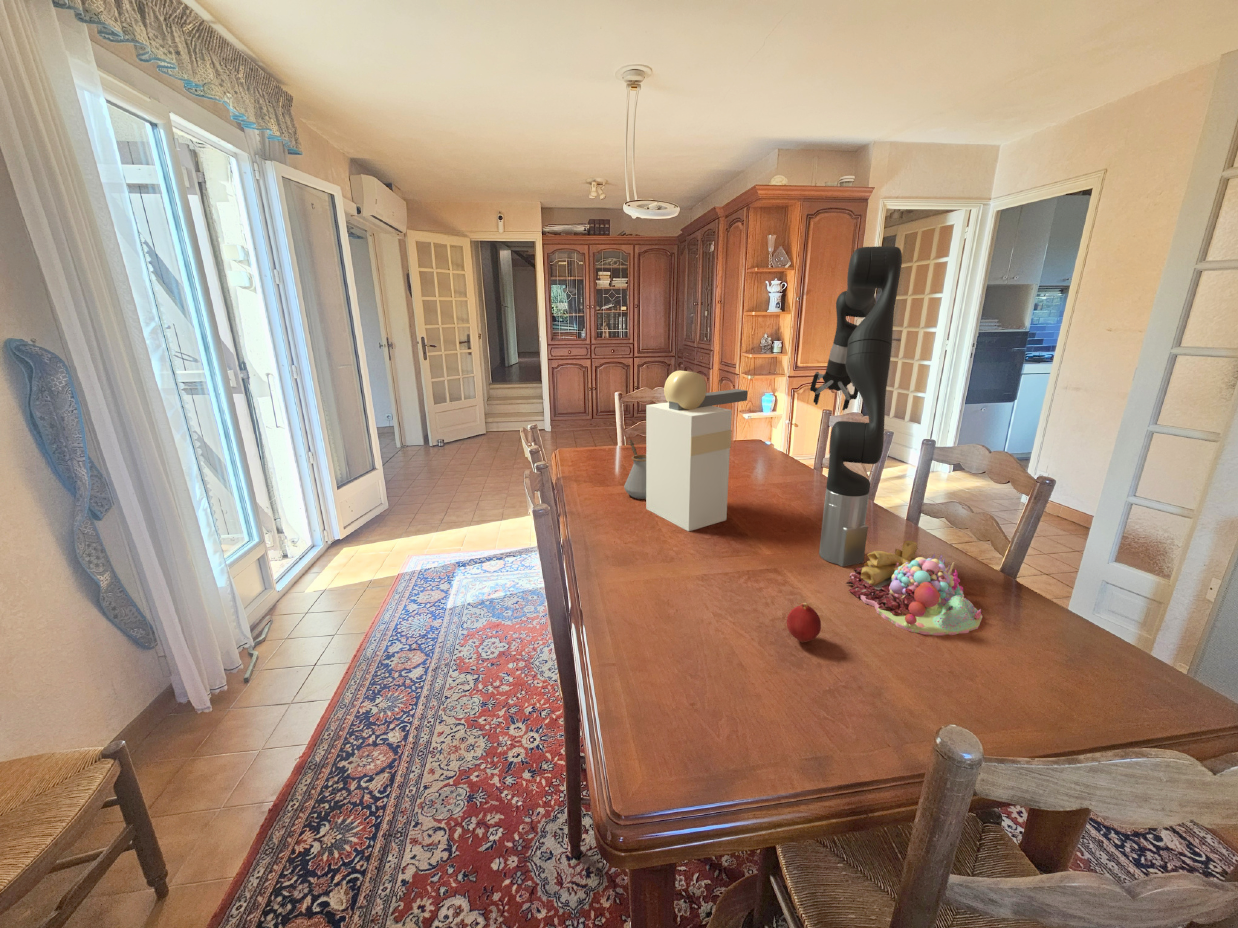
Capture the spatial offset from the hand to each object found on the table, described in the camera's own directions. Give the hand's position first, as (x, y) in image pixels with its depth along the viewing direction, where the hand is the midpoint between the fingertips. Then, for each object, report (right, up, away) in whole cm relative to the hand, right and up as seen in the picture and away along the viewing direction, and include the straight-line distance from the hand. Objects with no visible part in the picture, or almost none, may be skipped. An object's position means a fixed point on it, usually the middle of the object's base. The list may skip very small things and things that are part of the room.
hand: (830, 406), depth 165 cm
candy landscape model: (-8, -47, -60) cm, 77 cm away
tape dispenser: (-43, -2, -20) cm, 48 cm away
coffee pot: (-62, -28, +6) cm, 69 cm away
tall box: (-49, -34, -15) cm, 62 cm away
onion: (-36, -51, -73) cm, 96 cm away
